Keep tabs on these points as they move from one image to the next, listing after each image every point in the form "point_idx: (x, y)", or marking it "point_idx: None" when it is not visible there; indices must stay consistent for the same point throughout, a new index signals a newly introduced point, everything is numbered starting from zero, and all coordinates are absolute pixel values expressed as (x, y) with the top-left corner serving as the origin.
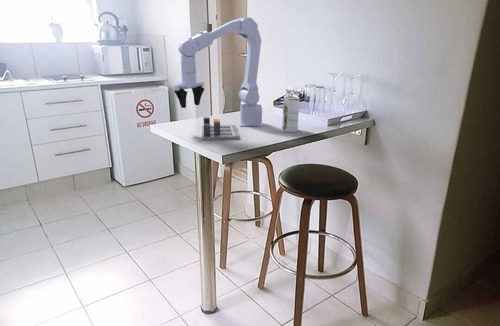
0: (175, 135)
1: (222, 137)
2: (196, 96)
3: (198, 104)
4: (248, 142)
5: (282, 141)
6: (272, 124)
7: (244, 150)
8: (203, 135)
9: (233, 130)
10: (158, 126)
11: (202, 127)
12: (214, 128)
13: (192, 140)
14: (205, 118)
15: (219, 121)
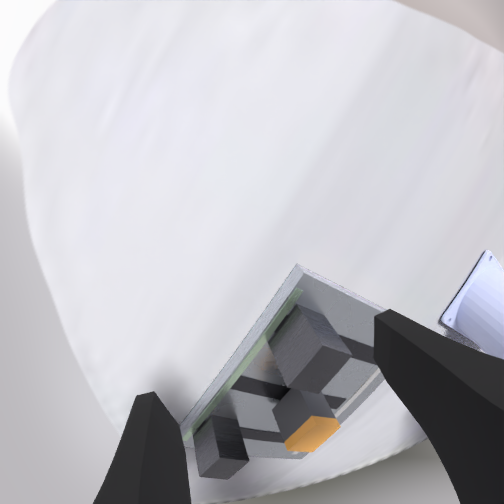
0: (74, 328)
1: (250, 453)
2: (440, 410)
3: (381, 364)
4: (296, 469)
5: (363, 465)
6: None
7: (238, 499)
8: (191, 433)
9: (349, 405)
10: (50, 34)
11: (275, 319)
12: (276, 419)
13: None
14: (308, 377)
15: (309, 449)
